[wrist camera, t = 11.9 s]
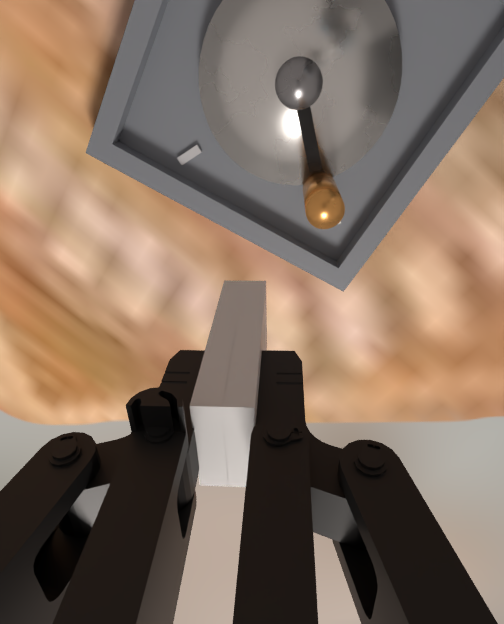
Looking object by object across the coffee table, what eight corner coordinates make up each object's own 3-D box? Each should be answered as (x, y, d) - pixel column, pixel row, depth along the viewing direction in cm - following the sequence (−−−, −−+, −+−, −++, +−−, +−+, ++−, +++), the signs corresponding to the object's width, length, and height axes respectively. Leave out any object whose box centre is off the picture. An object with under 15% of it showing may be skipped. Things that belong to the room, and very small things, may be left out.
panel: (228, -238, 23) (221, -271, 21) (541, 2, 27) (564, -4, 25) (99, 146, 33) (85, 152, 31) (340, 277, 37) (343, 291, 35)
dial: (162, 83, 30) (134, 88, 24) (305, -102, 24) (311, -150, 19) (299, 223, 34) (302, 255, 28) (445, 90, 29) (483, 97, 23)
